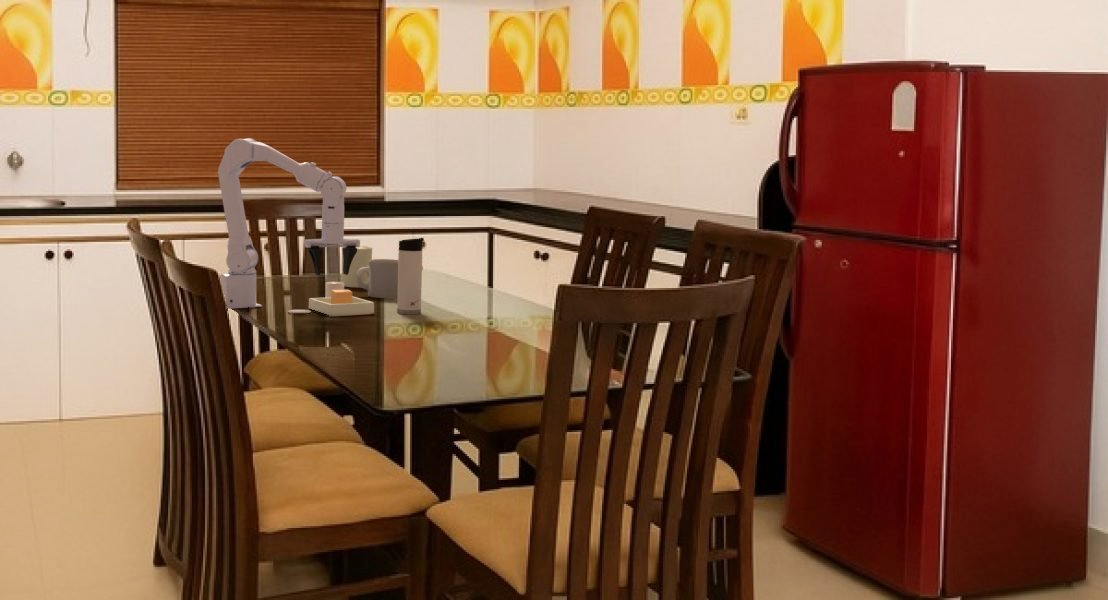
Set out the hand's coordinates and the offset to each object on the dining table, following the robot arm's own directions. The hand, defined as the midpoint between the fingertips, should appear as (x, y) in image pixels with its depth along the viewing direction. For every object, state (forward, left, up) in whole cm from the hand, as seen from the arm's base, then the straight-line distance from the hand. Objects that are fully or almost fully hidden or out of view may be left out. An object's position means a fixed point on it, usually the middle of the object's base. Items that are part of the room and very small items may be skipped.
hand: (331, 274), depth 364 cm
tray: (+1, -4, -9) cm, 10 cm away
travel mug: (+17, -12, -10) cm, 23 cm away
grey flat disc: (-10, -2, -10) cm, 14 cm away
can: (+29, +42, -10) cm, 52 cm away
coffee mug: (+25, +20, -10) cm, 34 cm away
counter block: (+1, -4, -9) cm, 10 cm away
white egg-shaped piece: (+5, +8, -10) cm, 14 cm away
